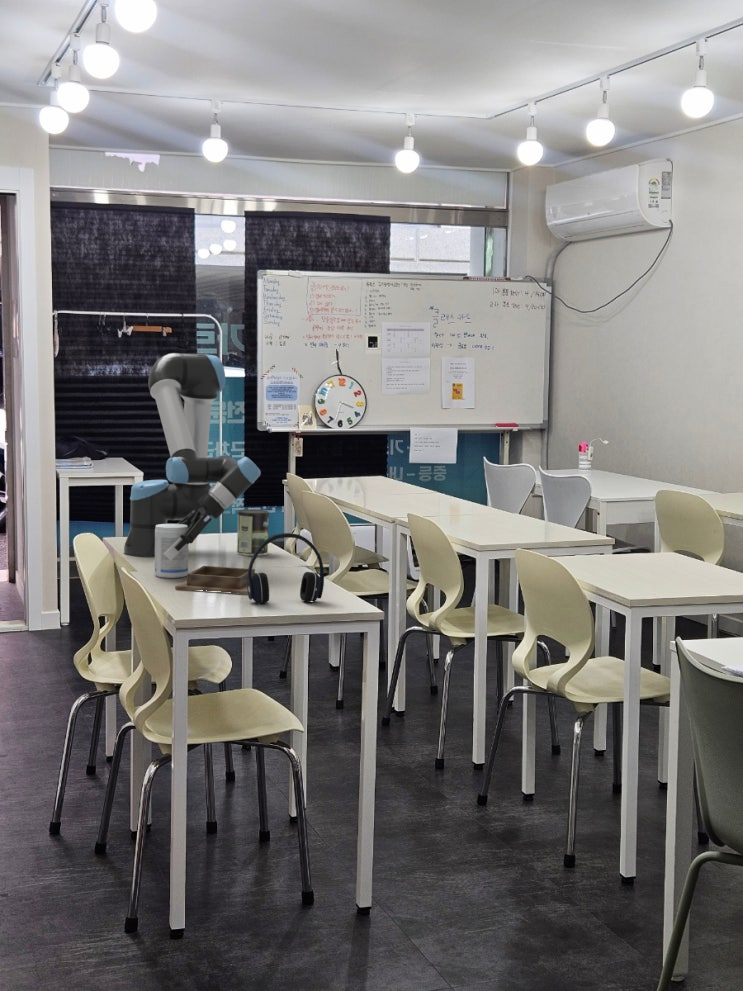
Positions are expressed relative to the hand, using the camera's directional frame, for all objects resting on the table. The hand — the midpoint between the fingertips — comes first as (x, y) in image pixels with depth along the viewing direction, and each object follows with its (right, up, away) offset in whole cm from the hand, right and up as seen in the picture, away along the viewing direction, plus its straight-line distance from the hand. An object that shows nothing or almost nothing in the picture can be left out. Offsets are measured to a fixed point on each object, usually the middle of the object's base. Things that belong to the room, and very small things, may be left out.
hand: (162, 553), depth 339 cm
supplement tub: (+2, -7, +2) cm, 7 cm away
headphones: (+37, -12, -30) cm, 49 cm away
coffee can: (+21, -3, +48) cm, 52 cm away
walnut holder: (+18, -8, -11) cm, 23 cm away
